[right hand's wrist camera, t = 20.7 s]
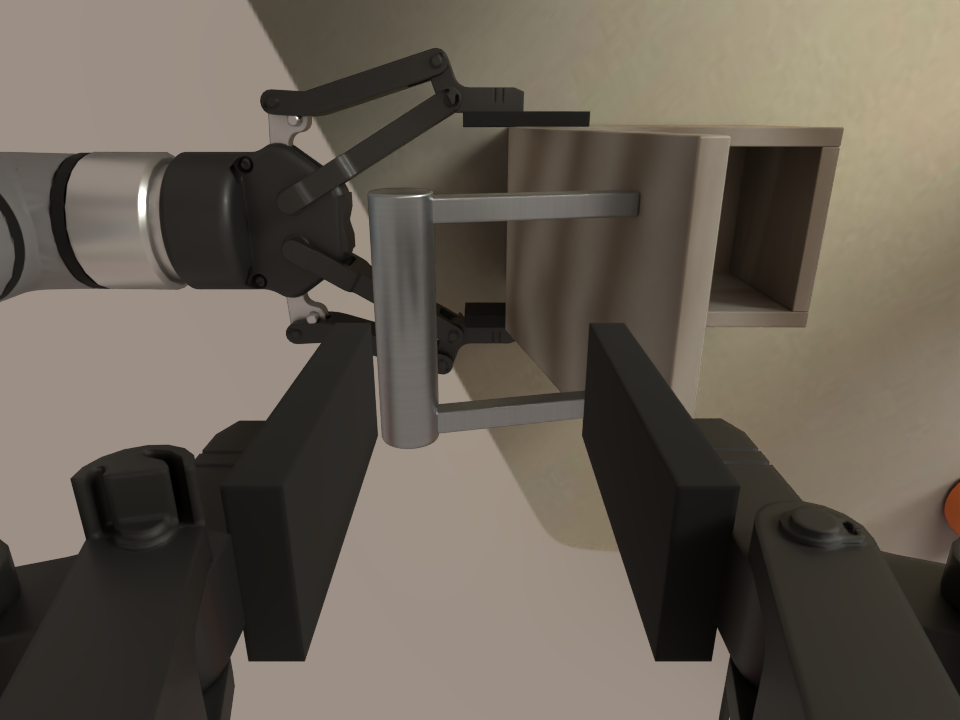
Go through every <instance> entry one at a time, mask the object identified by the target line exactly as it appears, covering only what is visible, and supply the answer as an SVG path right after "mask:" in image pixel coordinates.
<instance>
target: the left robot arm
mask: <svg viewBox="0 0 960 720" xmlns="http://www.w3.org/2000/svg"><path fill="white" fill-rule="evenodd" d="M428 81H431V82H432V85H433V88H434V90H435V93H436V94H435V95H433V96H432V97H430V98H429V99H427V100H426V101H424V102H423V103H421V104H419V105H418V106H416V107H415V108H413V109H412V110H410V111H409V112H407V113H406V114H404V115H402V116H401V117H399V118H398V119H396V120H395V121H393V122H392V123H390V124H388V125H387V126H385V127H384V128H382V129H381V130H379V131H378V132H376V133H375V134H373V135H371V136H370V137H368V138H367V139H365V140H364V141H362V142H361V143H359V144H358V145H356V146H354V147H353V148H351V149H350V150H348V151H347V152H345V153H344V154H342V155H340V156H338V157H336V158H335V159H333V160H332V161H330V162H329V163H327V164H326V165H324V166H323V165H321V164H320V163H318V162H317V161H316V160H314V159H313V158H311V157H310V156H309V155H307V154H306V153H304V152H303V151H301V150H300V149H299V148H297V147H296V146H294V145H293V139H294V137H295V136H296V135H297V134H298V133H300V132H304V131H307V130H308V129H309V128H310V127H311V124H312V116H323V115H327V114H331V113H334V112H337V111H340V110H344V109H347V108H350V107H353V106H356V105H359V104H362V103H365V102H368V101H371V100H374V99H377V98H380V97H383V96H386V95H389V94H392V93H395V92H398V91H401V90H404V89H407V88H410V87H413V86H416V85H419V84H422V83H425V82H428ZM260 103H261V106H262V108H263V110H264V111H265V112H267V113H268V116H269V134H270V144H269V145H267V146H266V147H264V148H262V149H261V150H259V151H256V152H183V153H180V154H179V155H177V156H176V157H175V156H173V155H171V154H169V153H167V152H93V153H78V154H63V153H27V152H0V302H1V301H4V300H7V299H9V298H12V297H14V296H17V295H20V294H22V293H25V292H29V291H35V290H45V289H94V288H97V289H175V290H178V289H181V288H184V287H186V286H187V285H189V286H191V287H192V288H195V289H267V290H272V291H275V292H277V293H279V294H281V295H283V296H285V297H287V303H288V309H289V315H290V321H291V325H290V326H289V327H288V328H287V330H286V336H287V339H288V340H289V341H290V342H292V343H294V344H306V343H322V341H323V340H324V339H325V337H326V336H327V334H328V333H329V332H330V330H331V329H332V327H333V326H334V325H335V323H371V335H372V351H373V356H377V344H376V327H375V322H373V321H370V320H366V319H363V318H359V317H355V316H352V315H348V314H344V313H340V312H328V310H327V308H326V306H325V305H324V304H322V303H319V302H315V301H313V300H311V299H310V298H309V296H308V294H307V292H308V291H310V290H311V289H312V288H314V287H315V286H316V285H318V284H319V283H320V282H322V281H323V280H324V279H325V280H327V281H328V282H330V283H332V284H334V285H336V286H337V287H339V288H341V289H343V290H345V291H348V292H354V293H356V294H358V295H359V296H361V297H363V298H365V299H367V300H369V301H370V302H372V303H374V294H373V277H372V266H371V265H370V264H369V263H368V262H367V261H366V260H364V259H363V258H361V257H359V256H357V255H355V254H354V253H352V251H353V248H354V247H355V235H354V231H353V228H352V225H351V222H350V216H351V211H352V192H349V190H348V188H347V186H346V184H345V183H346V182H347V181H349V180H351V179H352V178H354V177H355V176H357V175H358V174H360V173H362V172H363V171H364V170H366V169H367V168H369V167H371V166H372V165H374V164H375V163H377V162H378V161H380V160H382V159H383V158H385V157H386V156H388V155H389V154H391V153H393V152H394V151H396V150H397V149H399V148H400V147H402V146H404V145H405V144H407V143H408V142H410V141H411V140H413V139H415V138H416V137H418V136H419V135H421V134H422V133H424V132H426V131H427V130H429V129H430V128H432V127H433V126H435V125H437V124H438V123H440V122H441V121H443V120H444V119H446V118H448V117H449V116H451V115H452V114H454V113H463V127H589V122H590V112H573V111H523V103H524V92H523V91H521V90H519V89H516V88H469V87H464V86H462V85H460V84H459V83H458V82H457V80H456V79H455V76H454V73H453V70H452V67H451V64H450V61H449V59H448V57H447V55H446V53H445V52H444V51H443V50H442V49H439V48H433V49H430V50H427V51H424V52H421V53H418V54H415V55H412V56H409V57H406V58H403V59H400V60H397V61H394V62H391V63H388V64H385V65H382V66H379V67H376V68H373V69H370V70H367V71H364V72H361V73H358V74H355V75H352V76H349V77H346V78H343V79H340V80H337V81H334V82H331V83H328V84H325V85H322V86H319V87H316V88H313V89H310V90H307V91H288V90H272V89H271V90H266V91H265V92H263V94H262V96H261V99H260ZM436 321H437V338H438V339H439V340H437V363H438V374H447V373H449V372H450V371H451V369H452V366H453V363H454V360H455V357H456V355H457V352H458V350H459V348H460V347H461V346H463V345H464V344H467V343H511V342H514V341H515V340H514V339H513V338H512V336H511V335H510V334H509V333H508V332H507V331H506V329H505V323H506V303H465V317H464V316H463V314H461V313H459V315H458V314H456V313H454V312H452V311H450V310H449V309H447V308H445V307H443V306H442V305H440V304H438V303H436Z"/></svg>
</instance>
